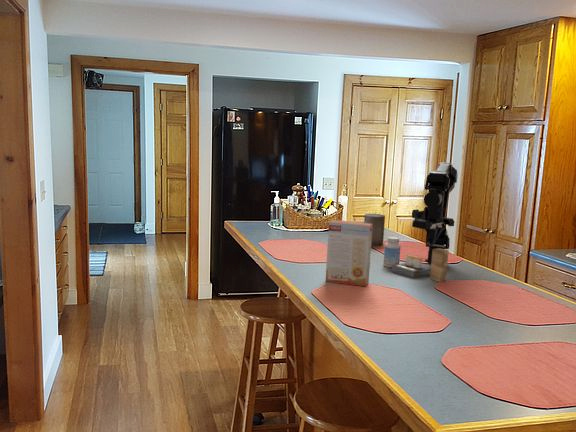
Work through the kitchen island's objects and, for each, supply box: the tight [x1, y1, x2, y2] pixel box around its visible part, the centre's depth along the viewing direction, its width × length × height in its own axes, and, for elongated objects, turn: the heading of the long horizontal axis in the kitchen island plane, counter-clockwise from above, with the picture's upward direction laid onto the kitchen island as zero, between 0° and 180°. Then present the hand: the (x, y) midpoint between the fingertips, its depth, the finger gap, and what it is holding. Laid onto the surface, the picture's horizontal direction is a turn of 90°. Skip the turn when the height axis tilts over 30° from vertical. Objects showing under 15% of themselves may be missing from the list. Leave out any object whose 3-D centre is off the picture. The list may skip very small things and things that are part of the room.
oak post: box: [429, 248, 450, 282], centre depth 189 cm, size 4×4×11 cm
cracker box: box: [325, 219, 373, 287], centre depth 178 cm, size 14×6×21 cm, turn 71°
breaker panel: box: [391, 262, 431, 279], centre depth 197 cm, size 12×10×3 cm
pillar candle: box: [363, 212, 386, 246], centre depth 249 cm, size 10×10×15 cm
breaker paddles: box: [404, 254, 424, 268], centre depth 196 cm, size 2×7×4 cm, turn 38°
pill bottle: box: [382, 236, 401, 268], centre depth 206 cm, size 6×6×11 cm
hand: (431, 244), depth 202 cm, fingers closed
